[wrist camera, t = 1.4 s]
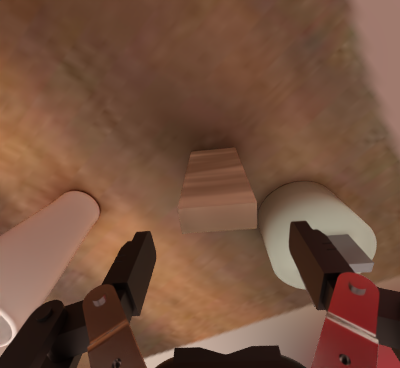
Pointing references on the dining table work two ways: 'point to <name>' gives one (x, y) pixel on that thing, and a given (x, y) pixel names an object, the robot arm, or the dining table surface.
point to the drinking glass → (40, 256)
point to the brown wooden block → (216, 193)
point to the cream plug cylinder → (317, 219)
